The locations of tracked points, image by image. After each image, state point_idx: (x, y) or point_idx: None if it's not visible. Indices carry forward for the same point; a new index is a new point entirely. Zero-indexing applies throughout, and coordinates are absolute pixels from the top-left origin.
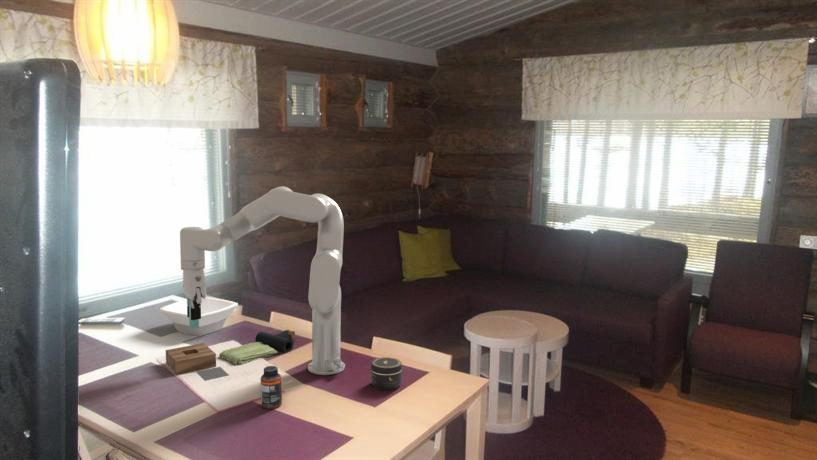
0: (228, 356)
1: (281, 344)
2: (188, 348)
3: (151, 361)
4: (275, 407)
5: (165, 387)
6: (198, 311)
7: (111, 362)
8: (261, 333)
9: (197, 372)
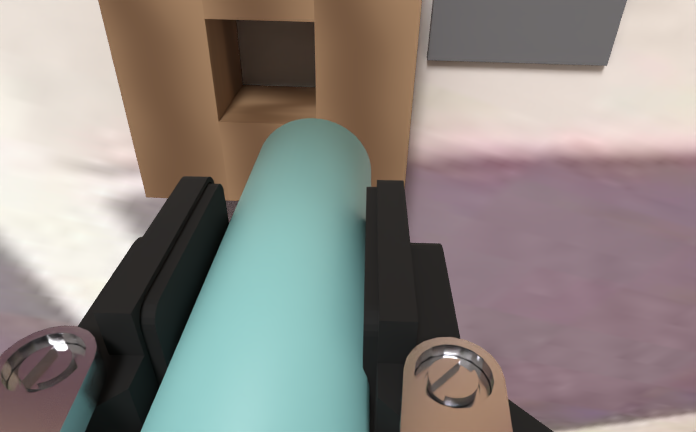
0: None
1: None
2: (175, 62)
3: (104, 199)
4: None
5: (509, 239)
6: (452, 318)
7: (56, 323)
8: None
9: (444, 57)
